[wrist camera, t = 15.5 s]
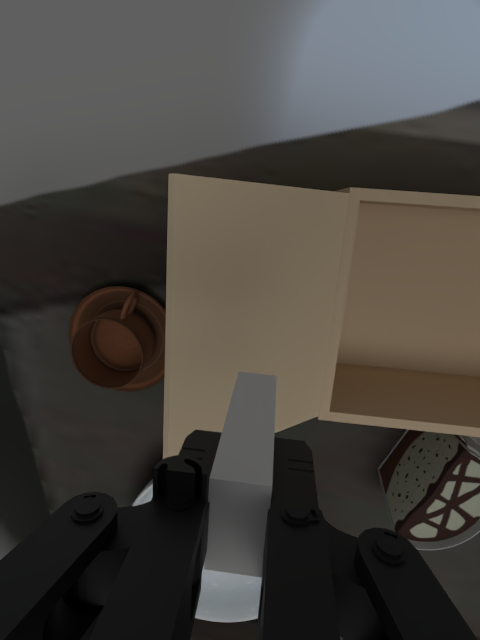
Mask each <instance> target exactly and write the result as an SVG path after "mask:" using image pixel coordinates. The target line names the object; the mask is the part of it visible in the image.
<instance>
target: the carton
mask: <svg viewBox="0 0 480 640" xmlns="http://www.w3.org/2000/svg"><path fill="white" fill-rule="evenodd" d="M334 192H342V193H350V194H349V201H348V208H347V215H346V223H345V230H344V237H343V244H342V252H341V259H340V266H339V273H338V281H337V288H336V295H335V302H334V310H333V317H332V324H331V331H330V339H329V346H328V353H327V360H326V368H325V375H324V382H323V389H322V397H321V404H320V411H319V416H318V420H326V421H335V422H345V423H354V424H363V425H372V426H381V427H391V428H400V429H409V430H418V431H427V432H436V433H446V434H455V435H464V436H473V437H480V196H469V195H455V194H440V193H426V192H411V191H397V190H382V189H368V188H353V187H349V188H345V189H341V190H337V191H334Z"/></svg>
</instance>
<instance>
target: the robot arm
mask: <svg viewBox="0 0 480 640" xmlns="http://www.w3.org/2000/svg"><path fill="white" fill-rule="evenodd" d="M276 379H277V376H275V375H266V374H256V373H247V372H238V375H237V379H236V382H235V386H234V390H233V393H232V397H231V401H230V405H229V408H228V412H227V416H226V419H225V423H224V427H223V430H222V433H221V432H213V431H204V430H194V431H193V432H192V433H191V434H189V435H188V436H187V437H186V438H185V440H184V443H183V445H182V448H181V450H180V452H179V454H178V455H175V456H171V457H167V458H165V459H163V460H161V461H159V462H158V463H157V464H156V465H155V466H154V467H153V497H152V499H151V501H149V502H147V503H144V504H141V505H136V506H130V507H121V508H117V503H116V502H115V500H114V498H113V497H111V496H109V495H107V494H105V493H99V492H91V493H84V494H81V495H78V496H75V497H73V498H72V499H70V500H69V501H67V502H66V503H64V504H63V505H62V506H61V507H60V508H59V509H57V510H56V511H55V512H54V513H53V514H52V515H51V516H50V517H48V518H47V519H46V520H45V521H44V522H43V523H42V524H41V525H40V526H39V527H37V528H36V529H35V530H34V531H33V532H32V533H31V534H29V535H28V536H27V537H26V538H25V539H24V540H23V541H22V542H21V543H19V544H18V545H17V546H16V547H15V548H14V549H13V550H11V551H10V552H9V553H8V554H7V555H6V556H5V557H4V558H2V559H1V560H0V640H190V638H191V634H192V629H193V624H194V619H195V615H196V610H197V605H198V601H199V596H200V591H201V580H202V570H203V565H204V569H205V570H212V571H219V572H226V573H233V574H240V575H247V576H254V577H261V578H262V582H261V591H260V601H259V610H258V619H257V622H258V635H257V640H340V636H341V637H342V640H477V638H476V637H475V635H474V634H473V632H472V631H471V629H470V628H469V626H468V625H467V623H466V622H465V620H464V619H463V617H462V616H461V614H460V613H459V611H458V610H457V608H456V607H455V605H454V604H453V602H452V601H451V600H450V598H449V597H448V595H447V594H446V592H445V591H444V589H443V588H442V586H441V585H440V583H439V582H438V580H437V579H436V577H435V576H434V574H433V573H432V571H431V570H430V568H429V567H428V565H427V564H426V562H425V561H424V559H423V558H422V556H421V555H420V553H419V552H418V550H417V549H416V548H415V547H414V546H413V545H412V543H411V542H410V541H409V540H407V539H406V538H404V537H403V536H401V535H400V534H398V533H396V532H393V531H391V530H388V529H383V528H372V529H367V530H365V531H364V532H363V533H361V534H360V535H359V538H356V537H354V536H351V535H349V534H346V533H344V532H342V531H340V530H338V529H336V528H334V527H333V526H332V525H330V524H329V523H328V522H327V521H326V520H325V519H324V517H323V514H322V511H321V510H320V509H319V507H318V501H317V492H316V484H315V475H314V467H313V458H312V451H311V450H310V448H309V447H308V446H307V444H306V443H305V442H304V441H299V440H291V439H282V438H274V431H275V405H276ZM204 561H205V564H204Z"/></svg>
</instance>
